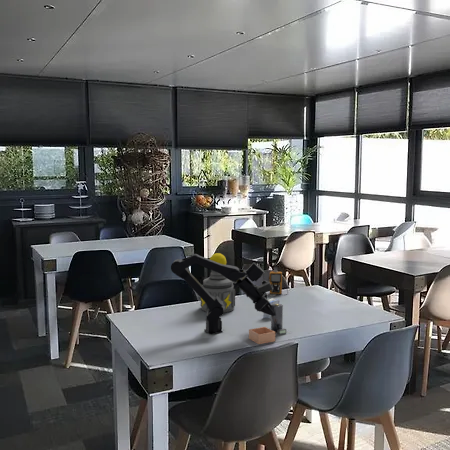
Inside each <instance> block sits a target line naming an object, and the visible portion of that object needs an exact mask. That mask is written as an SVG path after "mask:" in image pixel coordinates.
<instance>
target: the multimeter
mask: <svg viewBox="0 0 450 450" xmlns="http://www.w3.org/2000/svg"><path fill="white" fill-rule="evenodd" d="M269 262H270V260H269V261H268V262H266V263H265V266H264V270H263V271H264V272H265V273H266V271H265V270H266V267H267V265H268V263H269ZM271 262H273V263H274V261H273V260H271ZM278 262H281V264H282V266H283V267H285V265H284V263H283V262H282V261H281V260H277V262H276V263H278ZM284 274H285V271H283V272H282V271H278V266H275V269H274V271H270V272H269V275H268V280H269V282H270V284H271V286H272V290H271V291H269V294H268V293H267V296H270V297H276V296H279V295H280V296H282V293H283V292H282V291H283V290H282V289H283V282H284V284H285V288H286V292H287V294H285V296H287V295H288V293H289V290H288V287H287V285H286V281H285V279H284Z"/></svg>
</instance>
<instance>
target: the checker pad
mask: <svg viewBox="0 0 450 450" xmlns="http://www.w3.org/2000/svg"><path fill="white" fill-rule="evenodd" d="M269 329H271V327H270V328H269ZM292 333H293V332H291V331H289V330H288V329H287V328H285V327H284V328H282V329H279V330H277V333H275V337H276V336H277V337H278V336H282V335H287V334H292Z"/></svg>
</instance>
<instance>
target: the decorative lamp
mask: <svg viewBox="0 0 450 450" xmlns="http://www.w3.org/2000/svg"><path fill="white" fill-rule="evenodd" d="M209 259H210V260H212V261H215V262H217V263H220V264H223V265H227V259H226V256H225V255H224V254H222V253H220V252H217V253H214V254H213V253H212V255H211V256H210V257H209ZM202 282H203V283H202V284H201V285H202V286H203V287H204V288H205V289H206V290H207V291H208V292H209V293H210V294H211V295H212V296H213V297H215V298H216V296H218V297H219V298H220V300H221V301H223V304H224V313H223V314H225V313H226V314H227V313H230V312H232V311H234V309H235V307H236V288H235V289H233V288H234V285H233V282H234V281H231V280H229V279H227V278H225V277H224V276H223V275H221V274H220V273H218V272H215V271H213V270H211V272H210V275H209V277H207V278H204V279H203V280H202ZM200 307H201V310H202V311H203V312H206V313H208V311H209V309H208V307H207V305H206V303H205V302H204V301H203V299H202V298H201V297H200Z"/></svg>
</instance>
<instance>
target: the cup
mask: <svg viewBox="0 0 450 450" xmlns="http://www.w3.org/2000/svg"><path fill="white" fill-rule="evenodd" d="M248 340H251V341H253V342H254V343H256V344H257V345H261V344H267V343H273V342H276V336H275V332H274V331H272V330H271V329H269V328H268V327H267V326H262V327H256V328H250V329H248Z"/></svg>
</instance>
